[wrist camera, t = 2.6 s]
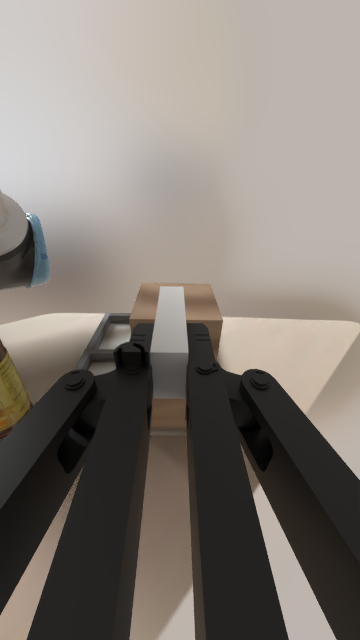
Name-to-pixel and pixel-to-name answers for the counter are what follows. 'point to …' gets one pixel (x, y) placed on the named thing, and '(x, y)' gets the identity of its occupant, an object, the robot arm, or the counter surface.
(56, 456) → the robot arm
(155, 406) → the walnut block
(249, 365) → the counter surface
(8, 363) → the sauce bottle
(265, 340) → the counter surface
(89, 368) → the grey flat tray
